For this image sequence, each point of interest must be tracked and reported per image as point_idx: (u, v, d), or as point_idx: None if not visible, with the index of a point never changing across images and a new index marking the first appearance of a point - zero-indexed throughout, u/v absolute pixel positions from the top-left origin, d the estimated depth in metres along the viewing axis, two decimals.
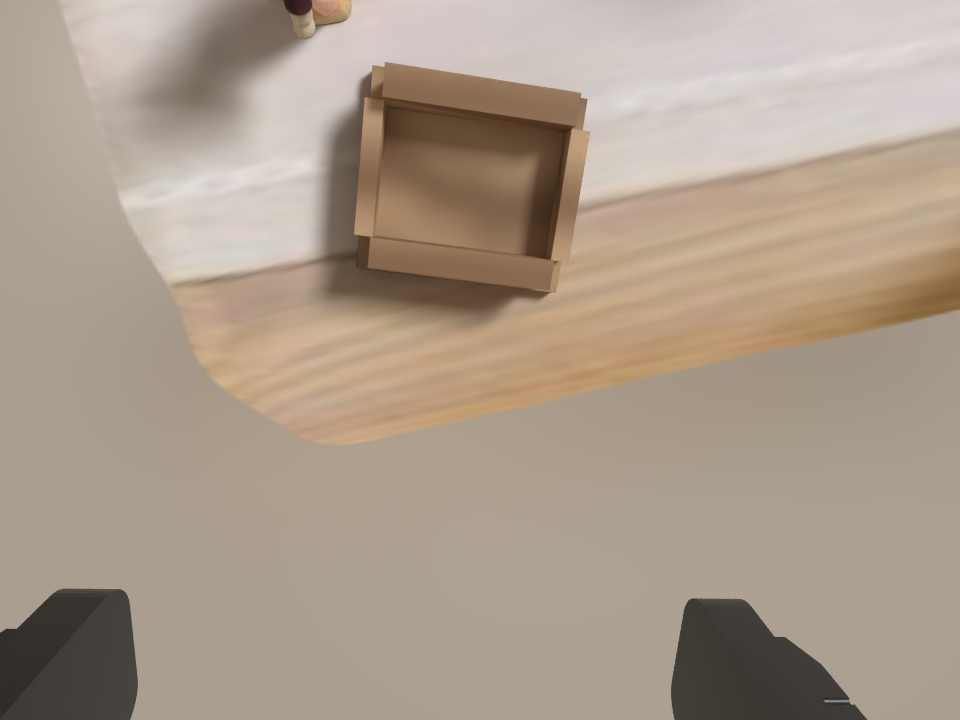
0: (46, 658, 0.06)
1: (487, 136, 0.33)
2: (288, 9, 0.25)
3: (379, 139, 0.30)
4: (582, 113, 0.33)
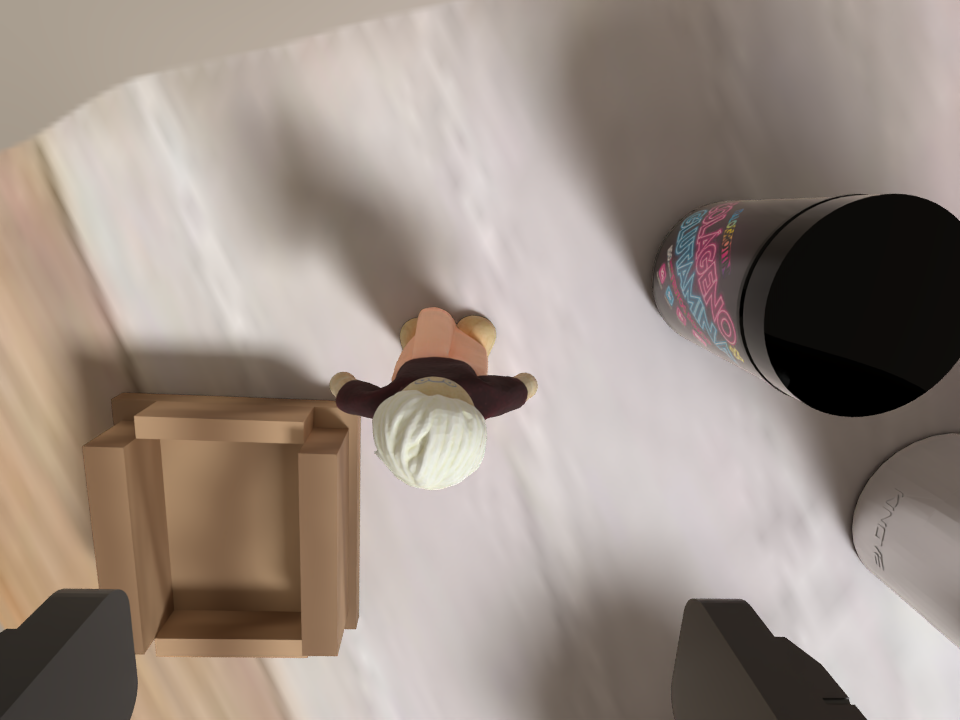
0: (46, 658, 0.06)
1: (300, 535, 0.28)
2: (341, 390, 0.20)
3: (257, 441, 0.25)
4: None
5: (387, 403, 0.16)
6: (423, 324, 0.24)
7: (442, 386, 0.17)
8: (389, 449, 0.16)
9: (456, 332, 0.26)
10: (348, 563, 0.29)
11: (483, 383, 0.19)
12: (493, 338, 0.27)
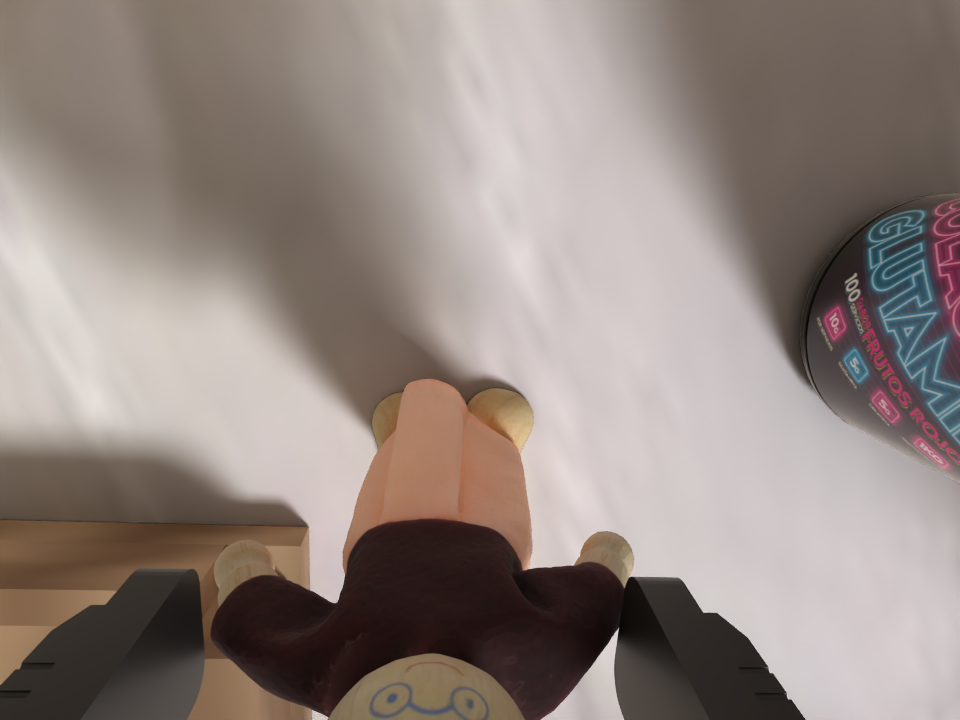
0: (138, 628, 0.07)
1: None
2: (221, 611, 0.09)
3: None
4: None
5: None
6: (409, 423, 0.13)
7: None
8: None
9: (468, 423, 0.15)
10: None
11: (544, 623, 0.08)
12: (530, 427, 0.16)
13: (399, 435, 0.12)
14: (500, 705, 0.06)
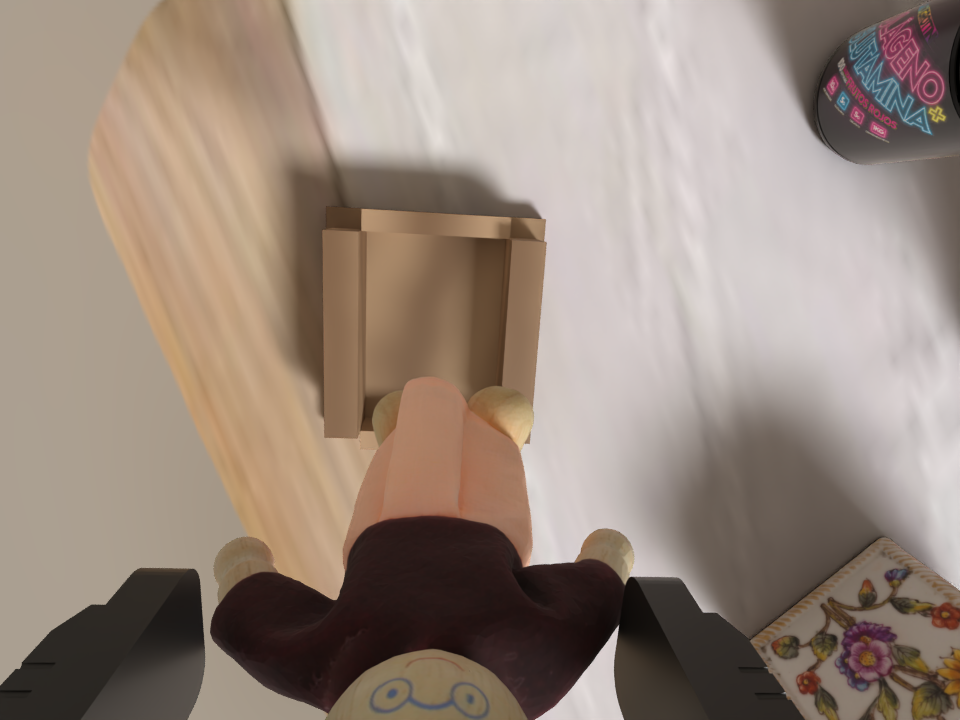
0: (139, 628, 0.07)
1: (484, 345, 0.31)
2: (221, 608, 0.09)
3: (469, 235, 0.27)
4: None
5: None
6: (409, 421, 0.13)
7: None
8: None
9: (468, 421, 0.15)
10: None
11: (544, 620, 0.08)
12: (530, 425, 0.16)
13: (399, 432, 0.12)
14: (500, 701, 0.06)
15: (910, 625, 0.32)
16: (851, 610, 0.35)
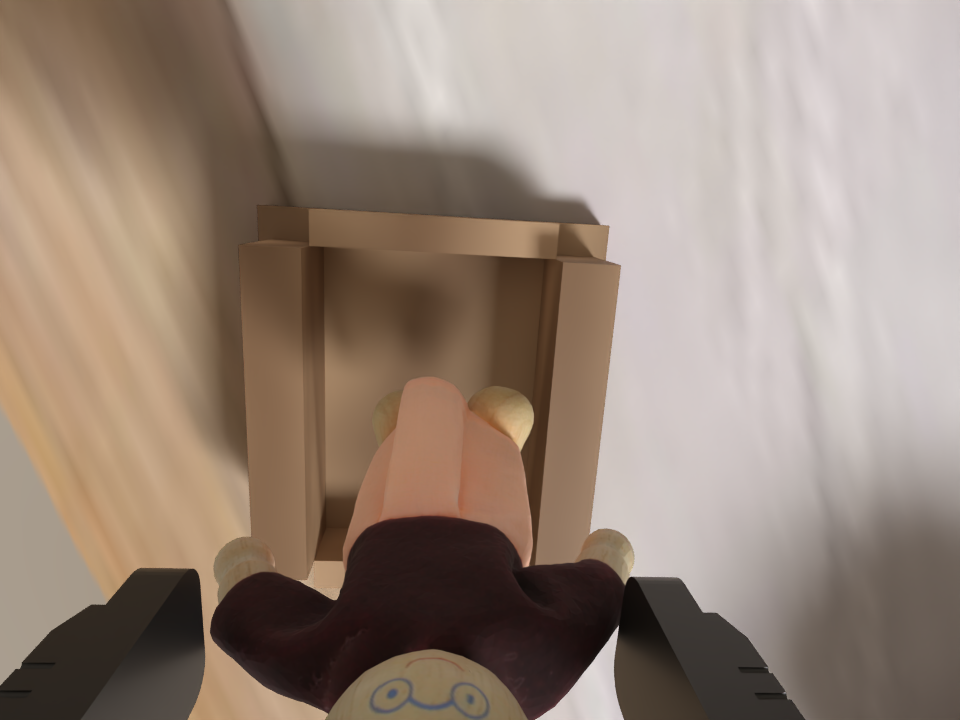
0: (139, 629, 0.07)
1: None
2: (221, 608, 0.09)
3: (489, 253, 0.17)
4: None
5: None
6: (409, 421, 0.13)
7: None
8: None
9: (468, 420, 0.15)
10: None
11: (544, 620, 0.08)
12: (530, 425, 0.16)
13: (399, 432, 0.12)
14: (500, 700, 0.06)
15: None
16: None
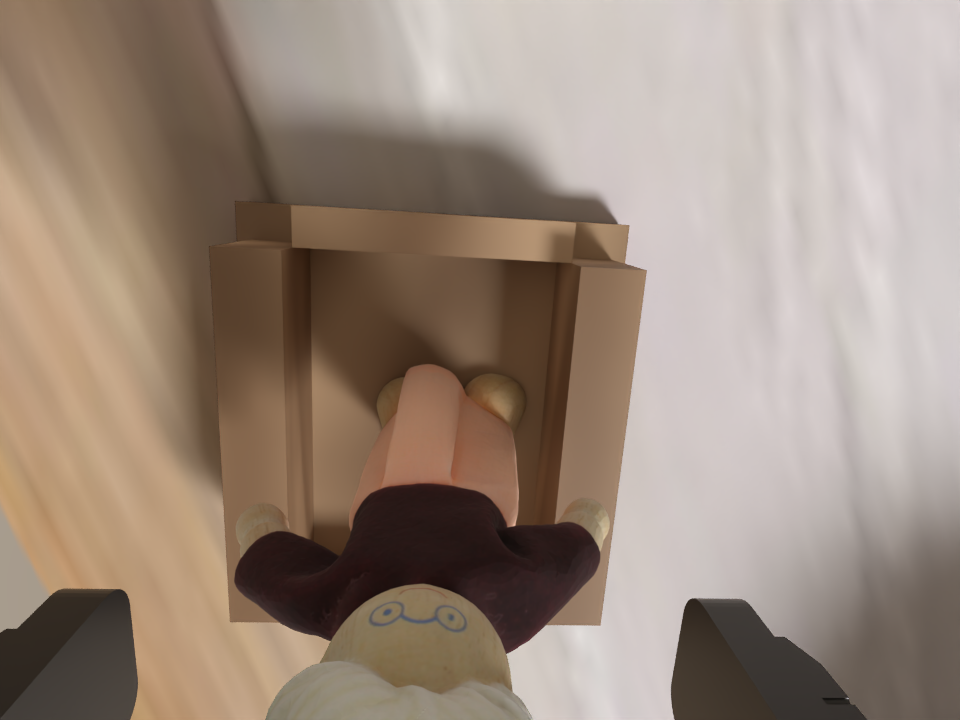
0: (46, 658, 0.06)
1: (516, 439, 0.18)
2: (243, 560, 0.10)
3: (496, 256, 0.15)
4: None
5: (291, 711, 0.06)
6: (409, 403, 0.14)
7: (433, 636, 0.07)
8: None
9: (464, 404, 0.16)
10: None
11: (521, 566, 0.09)
12: (522, 409, 0.17)
13: (400, 413, 0.14)
14: (477, 621, 0.08)
15: None
16: None
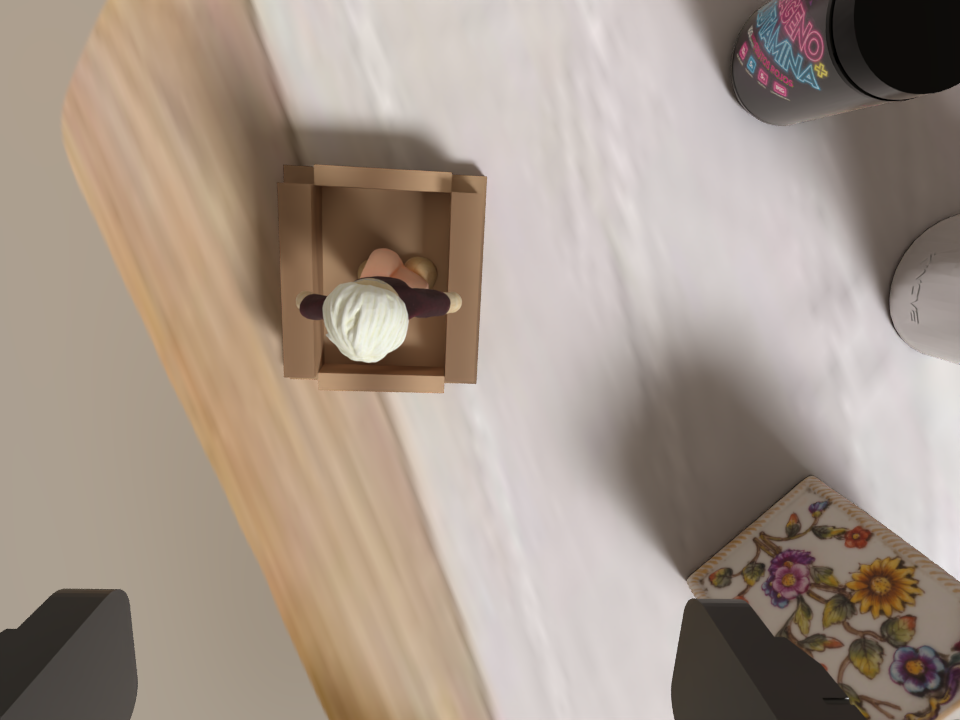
0: (46, 658, 0.06)
1: None
2: (303, 300, 0.26)
3: (413, 189, 0.30)
4: None
5: (332, 292, 0.22)
6: (372, 257, 0.30)
7: (374, 282, 0.22)
8: (334, 324, 0.21)
9: (402, 268, 0.32)
10: None
11: (411, 289, 0.25)
12: (434, 275, 0.33)
13: (368, 261, 0.29)
14: (390, 286, 0.23)
15: (827, 548, 0.35)
16: (778, 541, 0.38)
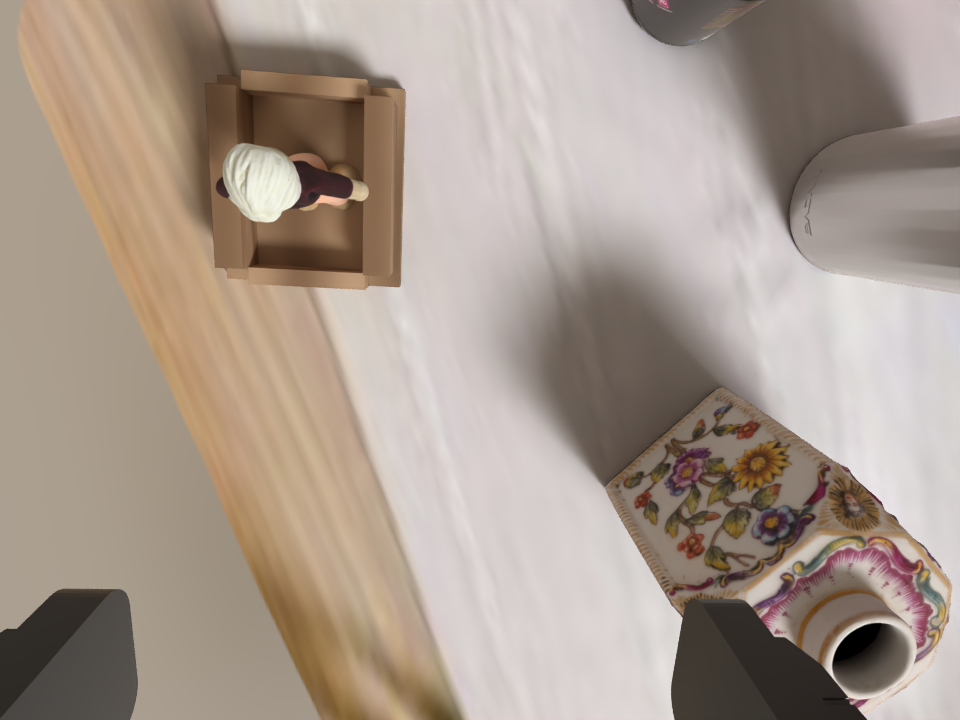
0: (46, 658, 0.06)
1: None
2: (219, 179, 0.29)
3: (332, 94, 0.33)
4: (387, 284, 0.38)
5: (229, 152, 0.25)
6: (293, 155, 0.33)
7: (269, 149, 0.25)
8: (229, 180, 0.24)
9: None
10: (395, 226, 0.37)
11: (312, 166, 0.28)
12: (357, 180, 0.36)
13: None
14: (285, 155, 0.26)
15: (722, 443, 0.37)
16: (685, 444, 0.40)
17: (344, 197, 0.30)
